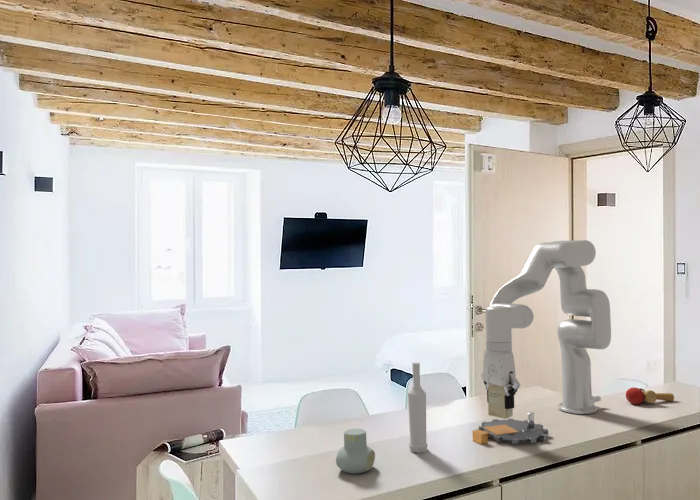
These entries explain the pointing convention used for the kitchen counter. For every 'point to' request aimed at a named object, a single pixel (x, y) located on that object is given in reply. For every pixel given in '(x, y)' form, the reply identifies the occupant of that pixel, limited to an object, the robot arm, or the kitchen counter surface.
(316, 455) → the kitchen counter surface
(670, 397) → the kendama
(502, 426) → the sprocket wheel
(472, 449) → the kitchen counter surface
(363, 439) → the air freshener
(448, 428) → the kitchen counter surface
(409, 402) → the bottle
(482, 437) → the wooden block
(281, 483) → the kitchen counter surface
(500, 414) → the skincare box
